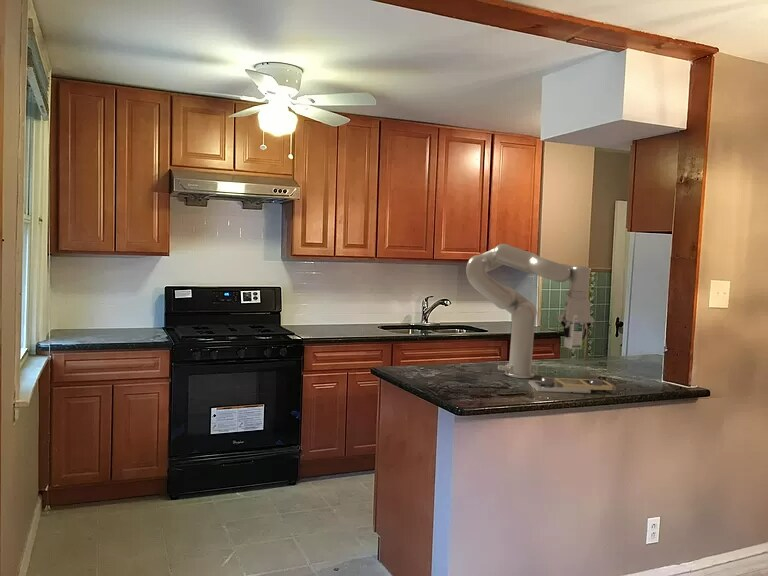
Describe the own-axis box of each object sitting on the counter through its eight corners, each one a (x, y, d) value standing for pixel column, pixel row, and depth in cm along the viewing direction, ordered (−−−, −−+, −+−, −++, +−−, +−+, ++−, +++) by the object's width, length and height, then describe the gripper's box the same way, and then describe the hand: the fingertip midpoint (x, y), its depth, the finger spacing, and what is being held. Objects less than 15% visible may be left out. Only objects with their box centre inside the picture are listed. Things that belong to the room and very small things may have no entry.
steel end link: (537, 391, 241) (538, 381, 241) (528, 384, 253) (529, 374, 252) (590, 393, 243) (591, 383, 243) (579, 385, 254) (580, 376, 254)
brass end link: (562, 392, 242) (563, 382, 242) (552, 384, 254) (553, 375, 253) (615, 394, 244) (616, 384, 244) (602, 386, 255) (603, 377, 255)
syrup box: (571, 349, 257) (574, 314, 255) (563, 346, 262) (566, 312, 261) (583, 349, 258) (586, 315, 257) (575, 346, 264) (578, 313, 263)
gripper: (561, 294, 254) (557, 337, 256) (602, 297, 255) (597, 340, 257) (555, 293, 261) (551, 334, 263) (594, 295, 263) (590, 336, 264)
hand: (574, 337), depth 260 cm, fingers closed on syrup box, 6 cm apart
